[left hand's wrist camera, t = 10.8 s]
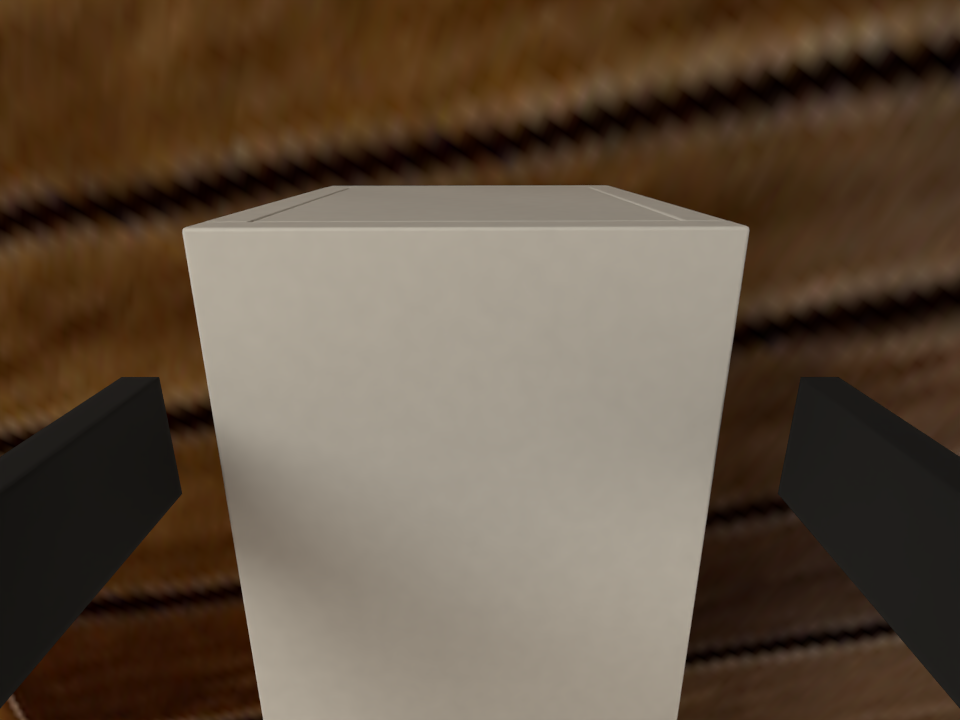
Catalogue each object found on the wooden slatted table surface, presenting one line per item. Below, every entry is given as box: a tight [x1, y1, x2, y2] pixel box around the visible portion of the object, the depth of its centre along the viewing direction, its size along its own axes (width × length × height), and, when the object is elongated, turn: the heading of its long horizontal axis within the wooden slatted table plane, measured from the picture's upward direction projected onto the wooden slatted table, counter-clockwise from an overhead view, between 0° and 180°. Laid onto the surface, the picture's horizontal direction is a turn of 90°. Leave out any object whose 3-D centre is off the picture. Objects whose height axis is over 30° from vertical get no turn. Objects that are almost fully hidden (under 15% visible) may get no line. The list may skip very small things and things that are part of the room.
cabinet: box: [183, 185, 749, 720], centre depth 20 cm, size 22×10×12 cm, turn 0°
